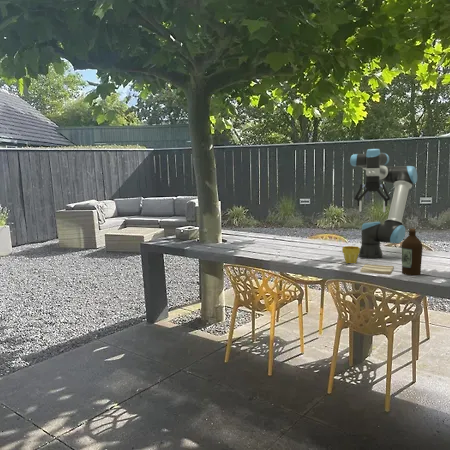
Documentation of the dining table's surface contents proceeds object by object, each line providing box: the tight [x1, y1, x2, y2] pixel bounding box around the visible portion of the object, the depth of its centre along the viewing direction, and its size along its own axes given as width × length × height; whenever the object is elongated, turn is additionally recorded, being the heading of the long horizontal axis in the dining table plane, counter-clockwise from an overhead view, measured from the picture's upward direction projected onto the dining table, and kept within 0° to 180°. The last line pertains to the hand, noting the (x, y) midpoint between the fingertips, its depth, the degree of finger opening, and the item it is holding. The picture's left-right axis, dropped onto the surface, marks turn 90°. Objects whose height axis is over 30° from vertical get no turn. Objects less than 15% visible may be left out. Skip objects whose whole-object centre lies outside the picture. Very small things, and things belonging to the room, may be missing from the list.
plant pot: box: [341, 245, 361, 264], centre depth 268 cm, size 10×10×10 cm
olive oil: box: [400, 228, 423, 277], centre depth 234 cm, size 11×11×25 cm
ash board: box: [360, 263, 395, 276], centre depth 246 cm, size 16×16×2 cm
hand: (372, 211), depth 253 cm, fingers open, 13 cm apart
